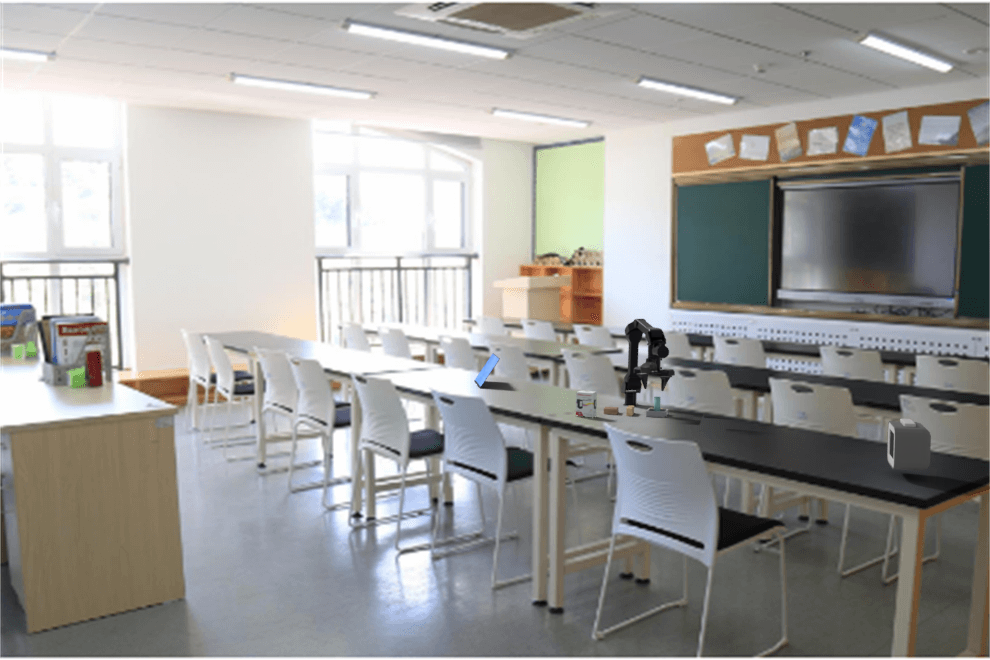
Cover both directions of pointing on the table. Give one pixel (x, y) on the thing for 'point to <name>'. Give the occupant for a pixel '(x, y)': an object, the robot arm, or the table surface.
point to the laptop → (486, 370)
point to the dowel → (656, 403)
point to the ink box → (586, 403)
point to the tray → (656, 413)
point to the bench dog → (629, 410)
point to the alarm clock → (908, 445)
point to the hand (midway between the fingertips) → (653, 389)
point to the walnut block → (611, 410)
